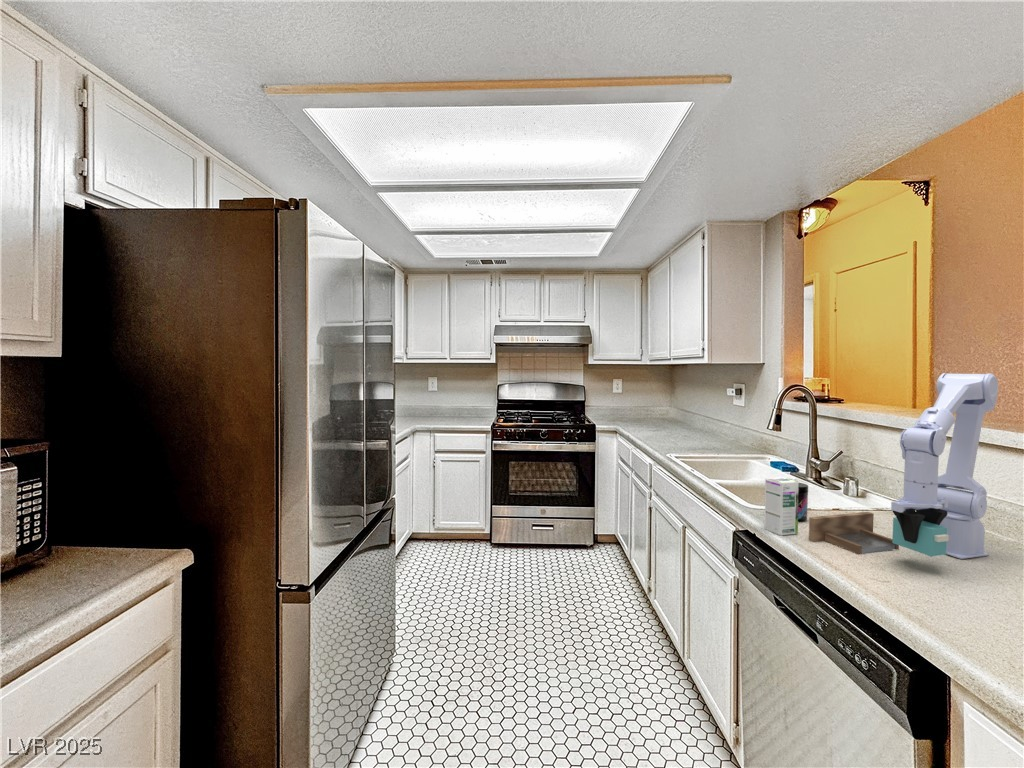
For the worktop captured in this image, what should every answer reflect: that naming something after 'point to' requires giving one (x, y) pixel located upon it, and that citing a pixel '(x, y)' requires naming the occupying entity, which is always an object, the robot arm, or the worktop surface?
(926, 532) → the cabinet block
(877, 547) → the grey flat plate
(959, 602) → the worktop surface
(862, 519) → the wooden tray
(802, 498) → the supplement container
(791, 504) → the syrup box
